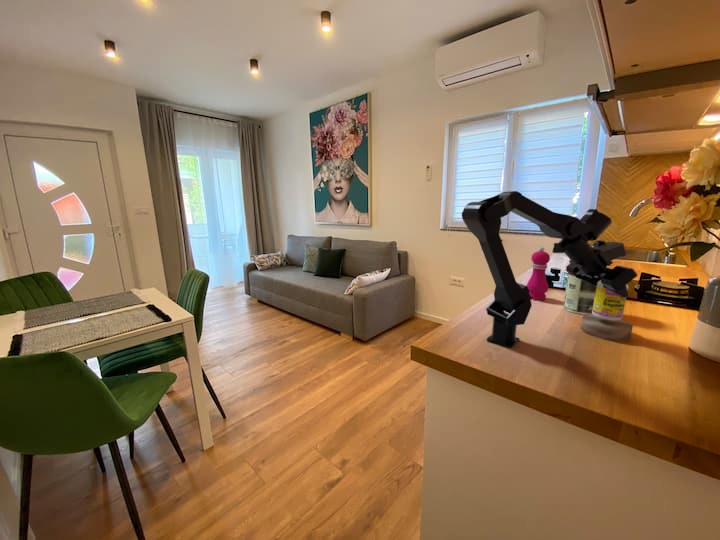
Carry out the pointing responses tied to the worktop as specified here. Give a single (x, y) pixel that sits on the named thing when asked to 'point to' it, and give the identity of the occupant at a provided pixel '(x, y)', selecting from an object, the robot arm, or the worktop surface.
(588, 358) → the worktop surface
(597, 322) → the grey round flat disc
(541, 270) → the pepper mill
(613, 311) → the supplement bottle
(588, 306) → the coffee can
